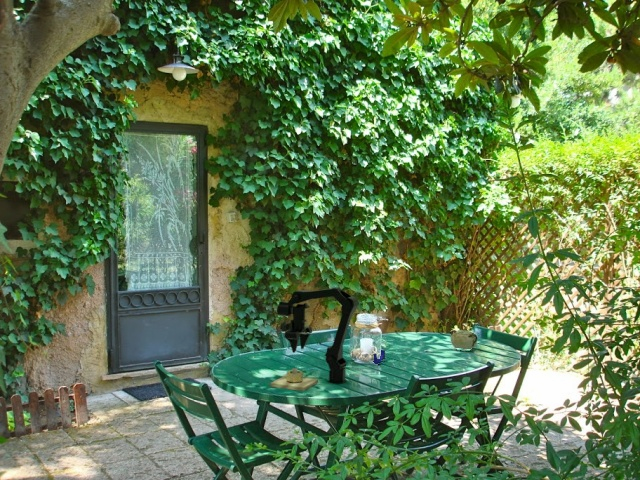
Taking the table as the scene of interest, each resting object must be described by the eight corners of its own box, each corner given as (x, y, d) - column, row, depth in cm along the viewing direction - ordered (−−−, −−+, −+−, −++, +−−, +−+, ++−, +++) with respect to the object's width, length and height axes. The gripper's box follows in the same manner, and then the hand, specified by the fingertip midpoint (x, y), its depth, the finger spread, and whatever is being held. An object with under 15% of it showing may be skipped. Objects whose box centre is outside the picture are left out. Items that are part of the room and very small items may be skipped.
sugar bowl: (441, 348, 368) (442, 322, 368) (459, 346, 377) (460, 321, 376) (467, 355, 352) (468, 328, 352) (485, 352, 360) (486, 326, 360)
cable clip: (377, 366, 321) (377, 354, 320) (369, 364, 323) (369, 353, 323) (387, 361, 331) (387, 350, 331) (379, 360, 333) (380, 349, 333)
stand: (318, 382, 284) (318, 367, 284) (303, 391, 270) (303, 374, 269) (286, 378, 291) (286, 363, 290) (270, 386, 276) (270, 370, 276)
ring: (305, 379, 282) (305, 371, 282) (298, 382, 276) (298, 374, 275) (290, 377, 285) (291, 369, 285) (284, 380, 278) (284, 372, 278)
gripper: (291, 313, 306) (291, 345, 306) (274, 318, 289) (273, 352, 289) (312, 315, 302) (312, 347, 302) (296, 320, 284) (295, 355, 285)
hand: (298, 350), depth 295 cm, fingers open, 9 cm apart
